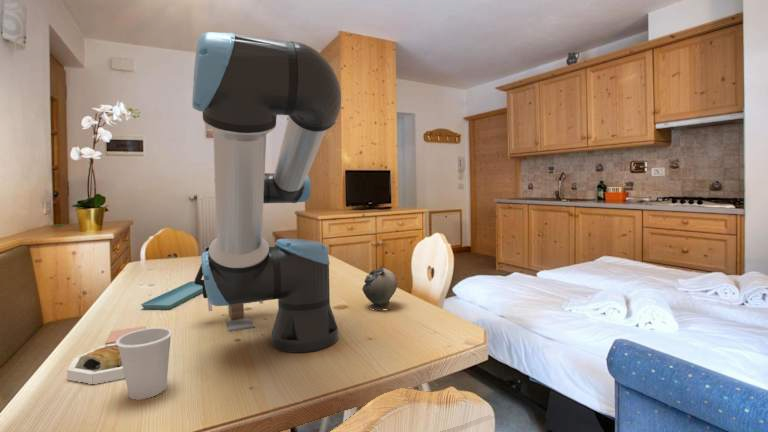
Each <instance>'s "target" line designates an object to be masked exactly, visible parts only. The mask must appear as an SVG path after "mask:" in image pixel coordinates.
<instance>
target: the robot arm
mask: <svg viewBox="0 0 768 432" xmlns="http://www.w3.org/2000/svg"><path fill="white" fill-rule="evenodd" d="M194 60H195V61H194V67H193V68H194V70H193V86H192V98H191V100H192V102H191V103H192V108H193V109H194V110H196V111H198V112H202V121H203V123H204V124H205V125H206V126H208V127H209V128H210V129H211V130H212V131H213V132H212V134H213V138H212V139H213V157H214V158H213V159H214V160H213V166H214V189H215V190H214V193H215V194H214V195H215V197H214V199H215V227H216V229H215V230H216V238H215V239H213V240H212V241H211V243H210V244H209V246H205V248H204V252H202V253H201V258H200V260H201V262H200V263H201V264H200V266H199V269H198V271H197V273H196V275H195V278H194V280H193V281H195V284H196V285H201V286H202V288H203V293H202V297H203V299H207V307H208V309H207V310H208V312H213V306H215V307H225V306H226V307H227V306H233V305H238V304H244V305H245V304H251V303H259V304H264V302H265V301H272V300H277V301H278V303H277V304H278V310H277V313H276V316H275V319H274V324H273V326H272V330H271V334H270V335H271V345H272V346H273V348H274V349H277V350H279V351H282V352H286V353H287V352H288V353H308V352H314V351H320V350H322V349H326V348H328V347H330V346H333V345H334V344H335V343H336V342H337V341H338V339H339V327H338V324H337V320H336V318H335V316H334V314H333V311H332V307H331V301H330V300H331V299H330V296H331V295H330V262H331V261H330V258H329V257H330V255H329V249H328V247H327V245H326V244H324V243H323V242H320V241H316V240H310V239H301V238H279V239H276V242H275V244H274V245H275V246H270V245H269V243H268V241H267V240H266V239H265V238H264V237H263V223H264V221H263V220H264V204H297V203H305V202H307V201H309V199H310V198H311V191H312V183H311V178H310V176H309V174H310V170H311V168H312V166H313V163H314V161H315V158H316V156H317V153H318V152H319V148H320V147H321V144H322V141H323V138H324V137H325V134H326V131H328V130H330V129H331V128H333V126H334V125H335V124H336V121H337V119H338V117H339V113H340V112H341V107H342V92H341V86H340V82H339V79H338V76H337V74H336V72H335V70H334V68H333V67H332V65H331V64H330V63H329V62H328V60H327V59H326V57H324V56H323V55H322V54H321V53H320V52H319V51H318V50H316V49H314V48H313V47H312V46H310V45H307V44H305V43H303V42H299V41H287V40H281V39H280V40H279V39H273V38H268V37H260V36H253V35H247V34H246V35H245V34H240V33H235V32H218V31H217V32H216V31H214V32H213V31H207V32H203V33H202V34H201V35H200V36H199V38H198V39H197V44H196V50H195V59H194ZM278 116H288V119H287V122H286V123H287V124H286V128H285V131H284V135H283V138H282V141H281V146H280V150H279V155H278V158H277V162H276V166H275V169H274V172H273V173H272V172H271V173H270V172H269V173H266V172H265V171H266V151H267V150H266V146H267V134H269V133H270V132H272V131H273V130H274V129H275V128H276V126H277V117H278Z"/></svg>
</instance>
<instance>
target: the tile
mask: <svg viewBox="0 0 768 432" xmlns="http://www.w3.org/2000/svg"><path fill="white" fill-rule="evenodd" d="M142 329H146V326H145V325H143V326H136V327H135V326H134V327H131V328H122V329H117V330H116V329H115V330H111V331H110V333H109V334H108V337H107V339H106V341H105V345H108V344H114V343H116V341H117V340H118V339H119V338H120V337H121V336H123V335H125V334H128V333H130V332H134V331H137V330H142Z"/></svg>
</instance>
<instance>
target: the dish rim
mask: <svg viewBox="0 0 768 432" xmlns="http://www.w3.org/2000/svg"><path fill="white" fill-rule="evenodd" d="M109 346H116V343H114V344H108V345H101V346H98V347H96V348H94V349H92V350H91V349H90V350H89V351H87V352H85V353H82V354H79V355H77V356H75V357H74V358H73V359H72V361H71V363H70V364H69V367H68V368H67V370H66V371H67V380H68V379H71V380H75V381H80V382H85V383H88V384H87V385H90V384H95V385H99V384H98V383H100V384H104V382H105V383H109V381H110V382H114V381H120V380H125V379H124V378H125V375H124V370H123V366H122V365H121V366H119V367H118V366H117V367H116V368H112V369H107V370H101V371H96V372H95V371H89V370H84V369H78V366H79V365H80V362H81V361H82V360H83V357H85V356H86V355H87V354H88V353H91V352H94V351H95V350H96V349H99V348H105V347H109ZM119 379H120V380H119ZM80 382H79V383H80ZM85 383H84V384H85Z"/></svg>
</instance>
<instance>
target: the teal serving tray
mask: <svg viewBox="0 0 768 432" xmlns="http://www.w3.org/2000/svg"><path fill="white" fill-rule="evenodd" d="M201 294H203V288H202V286H201V285H196V284H195V281H194V280H191V281H188V282H186V283H183V284H182V285H180V286H177V287H176V288H173V289H171V290H169V291H167V292H164V293H163V294H160V295H158V296H156V297H153V298H151V299H149V300H147V301H144V302H142V303H141V304H140V305H141V307H142V308H143V309H144V310H161V311H163V310H164V311H165V310H167V311H168V310H172V309H174V308H175V307H177V306H179V305H181V304H184V303H186V302H187V301H189V300H191V299H194V298H195V297H197V296H199V295H201Z"/></svg>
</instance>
